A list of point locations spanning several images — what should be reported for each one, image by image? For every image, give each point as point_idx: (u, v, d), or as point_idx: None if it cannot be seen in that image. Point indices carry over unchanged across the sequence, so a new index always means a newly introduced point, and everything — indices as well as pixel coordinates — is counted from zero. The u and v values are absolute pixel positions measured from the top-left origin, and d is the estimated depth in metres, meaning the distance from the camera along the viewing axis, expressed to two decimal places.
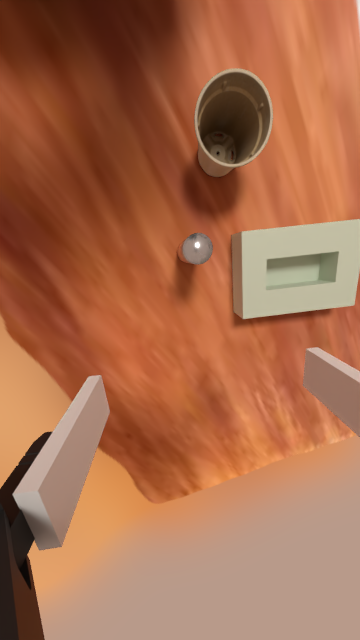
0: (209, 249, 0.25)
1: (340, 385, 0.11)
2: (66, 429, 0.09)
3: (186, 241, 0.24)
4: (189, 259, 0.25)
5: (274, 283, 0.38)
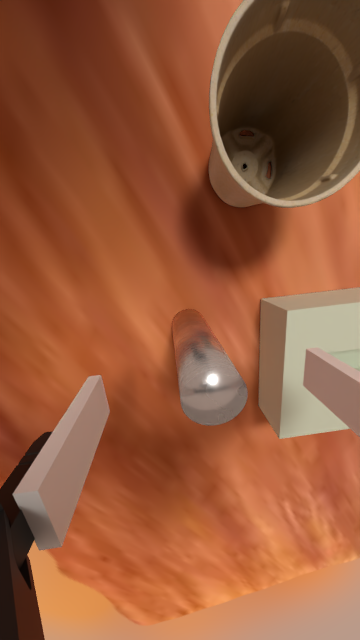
0: (240, 397, 0.11)
1: (340, 385, 0.11)
2: (66, 429, 0.09)
3: (188, 385, 0.11)
4: (194, 417, 0.11)
5: None
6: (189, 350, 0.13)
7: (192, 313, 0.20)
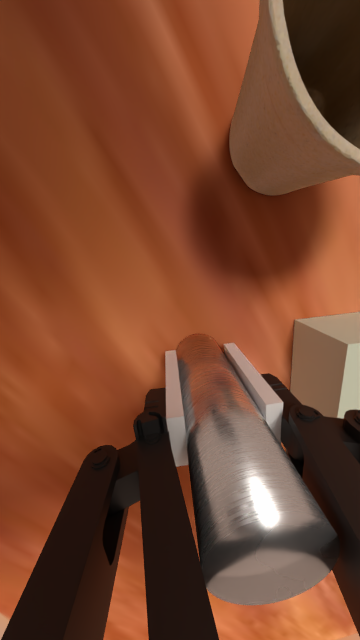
0: (324, 560, 0.05)
1: None
2: (175, 383, 0.11)
3: (219, 547, 0.05)
4: (229, 596, 0.05)
5: None
6: (211, 430, 0.07)
7: (204, 341, 0.15)
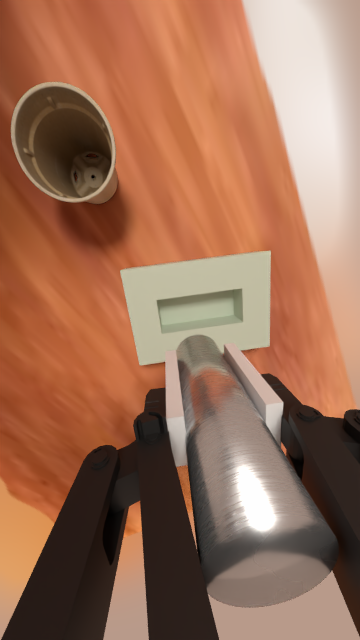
0: (323, 562, 0.05)
1: (236, 374, 0.12)
2: (175, 383, 0.11)
3: (217, 550, 0.05)
4: (227, 599, 0.05)
5: (183, 320, 0.33)
6: (210, 432, 0.07)
7: (204, 342, 0.15)
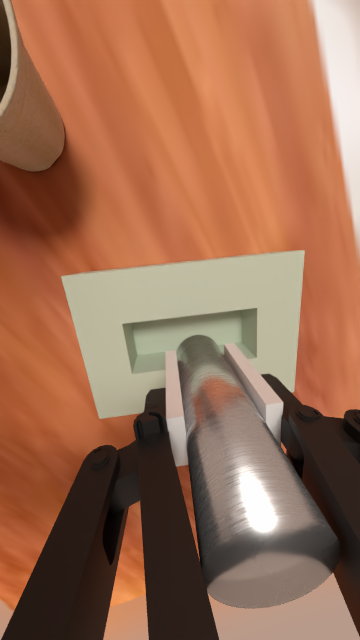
0: (324, 563, 0.05)
1: (236, 374, 0.12)
2: (175, 383, 0.11)
3: (219, 551, 0.05)
4: (229, 600, 0.05)
5: (168, 348, 0.23)
6: (211, 432, 0.07)
7: (204, 343, 0.15)
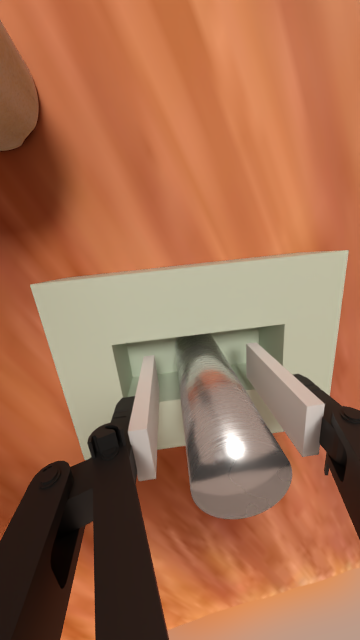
0: (280, 482, 0.07)
1: (264, 374, 0.12)
2: (146, 392, 0.10)
3: (202, 467, 0.07)
4: (211, 510, 0.07)
5: (170, 369, 0.19)
6: (201, 396, 0.09)
7: None
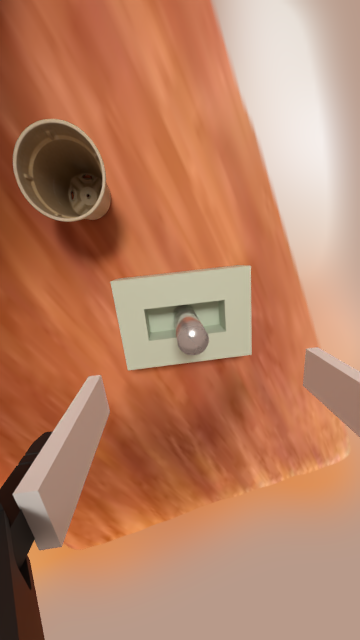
0: (205, 340, 0.23)
1: (340, 385, 0.11)
2: (66, 429, 0.09)
3: (180, 334, 0.23)
4: (184, 350, 0.24)
5: (170, 328, 0.35)
6: (182, 321, 0.26)
7: (186, 306, 0.33)
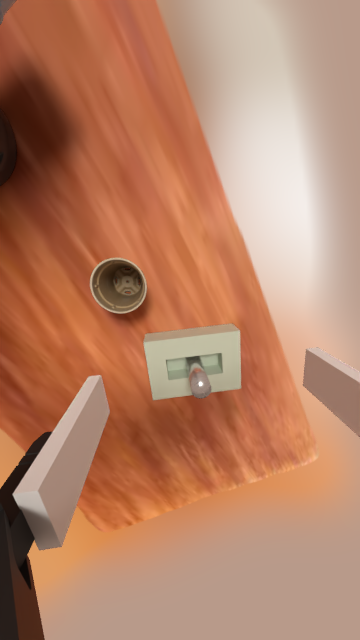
0: (209, 389, 0.37)
1: (340, 385, 0.11)
2: (66, 429, 0.09)
3: (193, 385, 0.36)
4: (195, 395, 0.37)
5: (182, 367, 0.48)
6: (193, 373, 0.39)
7: None
